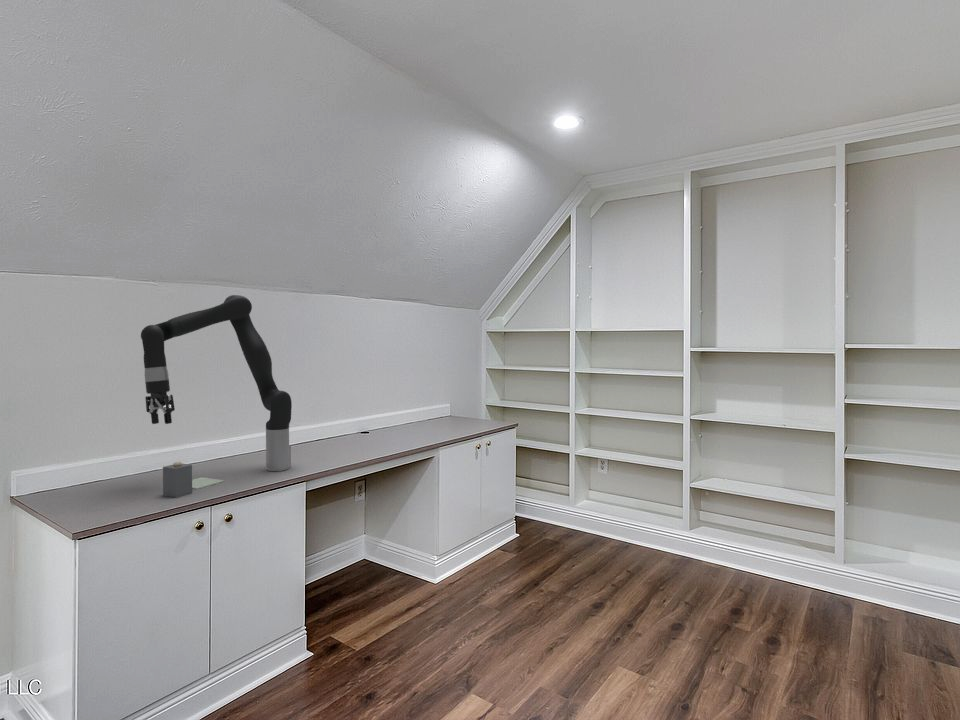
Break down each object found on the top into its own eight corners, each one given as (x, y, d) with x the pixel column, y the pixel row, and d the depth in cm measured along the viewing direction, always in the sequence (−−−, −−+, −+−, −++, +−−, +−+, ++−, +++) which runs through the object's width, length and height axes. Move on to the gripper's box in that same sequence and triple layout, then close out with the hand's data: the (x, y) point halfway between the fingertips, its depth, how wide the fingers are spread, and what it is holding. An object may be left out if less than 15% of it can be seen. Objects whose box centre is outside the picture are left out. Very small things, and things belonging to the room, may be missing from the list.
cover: (179, 490, 198) (179, 460, 198) (192, 492, 196) (191, 462, 195) (163, 495, 192) (162, 463, 192) (176, 497, 190) (175, 465, 189)
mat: (201, 478, 216) (201, 477, 216) (224, 481, 211) (224, 480, 211) (173, 485, 205) (173, 484, 205) (197, 489, 200) (197, 488, 200)
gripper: (178, 377, 202) (182, 421, 203) (156, 379, 209) (161, 421, 210) (157, 380, 196) (162, 425, 196) (136, 381, 203) (140, 425, 204)
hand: (161, 423), depth 203 cm, fingers open, 8 cm apart
